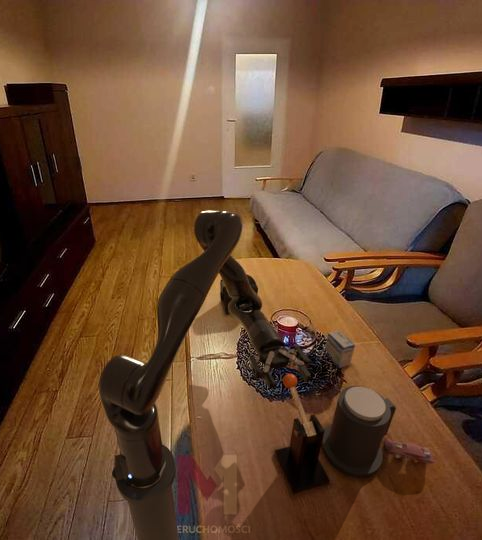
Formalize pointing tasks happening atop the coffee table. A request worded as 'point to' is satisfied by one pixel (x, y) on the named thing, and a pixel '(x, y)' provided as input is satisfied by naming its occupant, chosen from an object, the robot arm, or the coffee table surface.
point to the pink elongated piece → (409, 451)
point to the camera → (226, 298)
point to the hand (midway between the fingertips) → (291, 383)
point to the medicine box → (339, 349)
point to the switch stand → (303, 458)
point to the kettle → (358, 432)
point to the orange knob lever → (299, 404)
